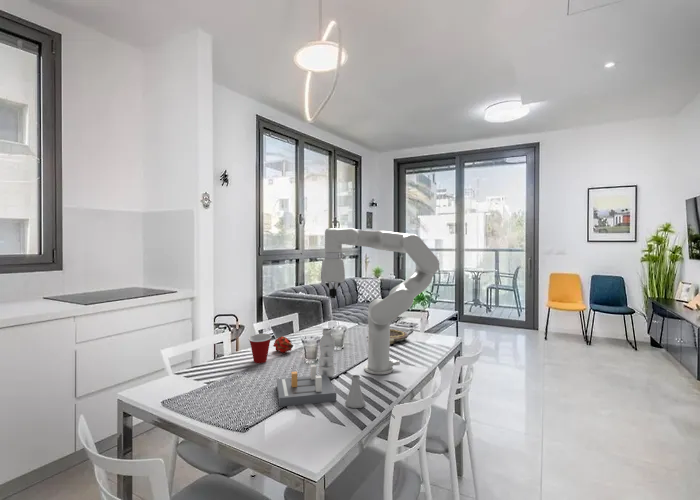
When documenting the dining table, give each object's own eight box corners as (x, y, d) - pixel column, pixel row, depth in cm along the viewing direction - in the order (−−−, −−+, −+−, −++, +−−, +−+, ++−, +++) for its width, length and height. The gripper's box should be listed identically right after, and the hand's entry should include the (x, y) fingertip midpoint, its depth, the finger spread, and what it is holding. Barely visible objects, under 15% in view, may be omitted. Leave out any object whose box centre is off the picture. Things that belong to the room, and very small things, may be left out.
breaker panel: (326, 382, 151) (327, 362, 151) (336, 401, 134) (336, 378, 133) (276, 386, 146) (276, 365, 146) (279, 406, 129) (279, 383, 128)
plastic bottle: (318, 374, 160) (318, 327, 159) (334, 373, 161) (334, 327, 160) (318, 379, 154) (318, 331, 153) (334, 379, 154) (335, 331, 154)
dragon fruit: (276, 352, 196) (291, 360, 189) (266, 345, 190) (281, 353, 183) (284, 337, 199) (300, 345, 192) (275, 330, 193) (290, 338, 186)
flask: (363, 410, 127) (364, 381, 127) (342, 407, 128) (343, 379, 128) (367, 401, 134) (367, 373, 134) (347, 399, 135) (347, 371, 135)
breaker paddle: (296, 384, 140) (296, 371, 140) (297, 387, 138) (297, 373, 138) (291, 385, 140) (291, 371, 140) (291, 387, 137) (291, 374, 137)
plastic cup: (243, 363, 173) (243, 337, 172) (257, 356, 183) (257, 332, 182) (262, 366, 169) (262, 340, 168) (276, 359, 179) (276, 334, 178)
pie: (368, 333, 233) (368, 325, 233) (412, 335, 230) (412, 327, 230) (365, 346, 205) (365, 337, 205) (415, 348, 202) (415, 339, 202)
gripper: (347, 255, 170) (347, 296, 170) (315, 256, 166) (314, 297, 167) (351, 256, 163) (351, 298, 163) (317, 256, 159) (317, 299, 159)
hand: (332, 297), depth 165 cm, fingers closed
